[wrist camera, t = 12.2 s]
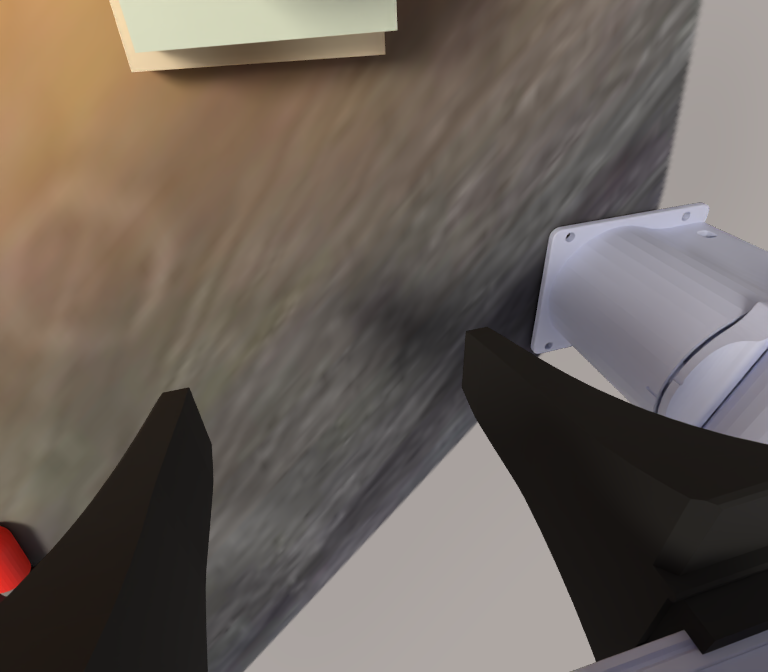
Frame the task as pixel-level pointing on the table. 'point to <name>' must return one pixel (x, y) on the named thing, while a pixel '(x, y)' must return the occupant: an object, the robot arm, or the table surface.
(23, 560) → the toy gun
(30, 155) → the table surface
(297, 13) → the sage top slab
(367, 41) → the oak base slab
